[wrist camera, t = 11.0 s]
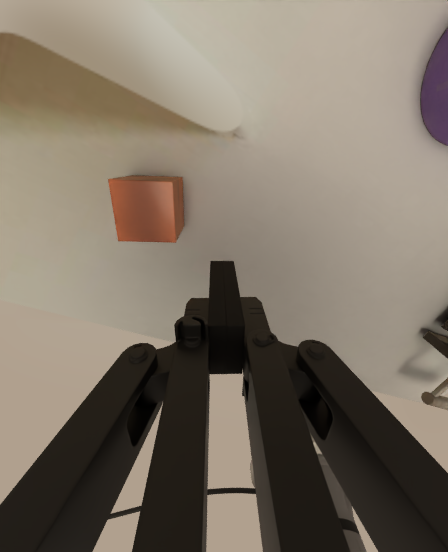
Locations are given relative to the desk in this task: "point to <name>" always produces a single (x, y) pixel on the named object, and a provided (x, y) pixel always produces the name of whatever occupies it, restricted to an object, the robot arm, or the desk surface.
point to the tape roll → (436, 92)
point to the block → (147, 208)
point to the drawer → (434, 399)
